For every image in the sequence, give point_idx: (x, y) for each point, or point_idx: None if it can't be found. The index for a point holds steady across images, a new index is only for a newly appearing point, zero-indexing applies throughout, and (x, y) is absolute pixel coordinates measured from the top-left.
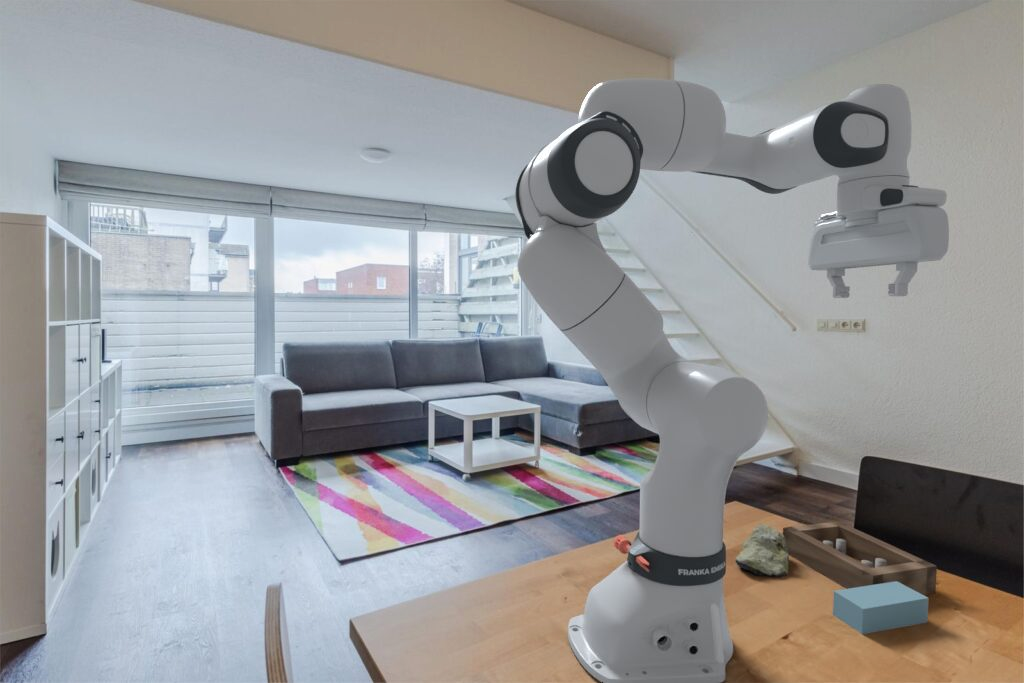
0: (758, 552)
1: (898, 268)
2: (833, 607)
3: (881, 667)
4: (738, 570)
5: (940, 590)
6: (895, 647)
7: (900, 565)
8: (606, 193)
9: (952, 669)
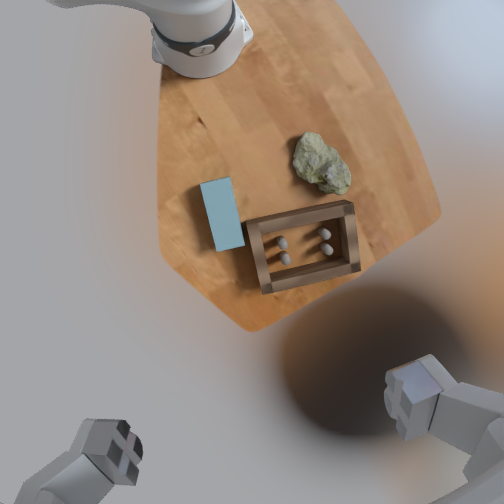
0: (316, 155)
1: (42, 498)
2: (229, 176)
3: (164, 171)
4: None
5: None
6: (185, 197)
7: (264, 264)
8: None
9: (162, 219)
